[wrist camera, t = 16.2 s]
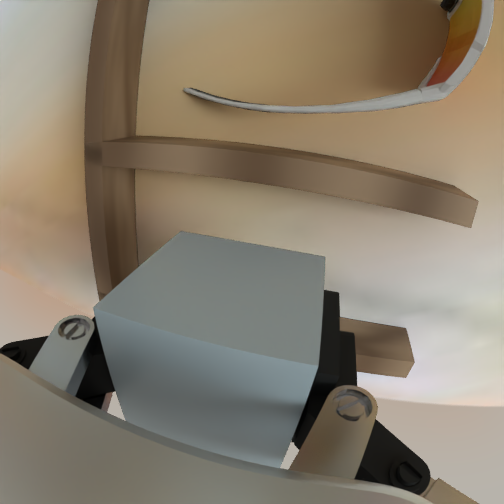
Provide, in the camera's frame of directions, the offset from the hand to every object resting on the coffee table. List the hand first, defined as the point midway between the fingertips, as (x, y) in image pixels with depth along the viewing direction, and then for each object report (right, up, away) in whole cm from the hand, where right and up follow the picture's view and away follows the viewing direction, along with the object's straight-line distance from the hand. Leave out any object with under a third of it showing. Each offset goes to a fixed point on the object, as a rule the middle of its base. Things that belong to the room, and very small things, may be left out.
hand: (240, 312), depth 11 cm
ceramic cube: (0, 0, 0) cm, 1 cm away
